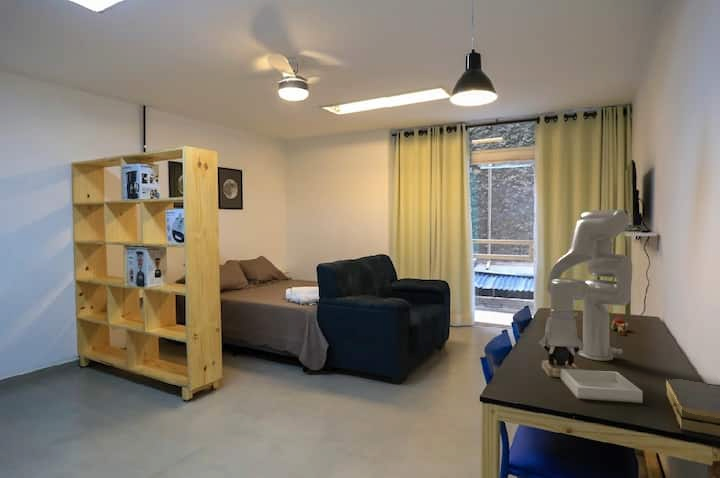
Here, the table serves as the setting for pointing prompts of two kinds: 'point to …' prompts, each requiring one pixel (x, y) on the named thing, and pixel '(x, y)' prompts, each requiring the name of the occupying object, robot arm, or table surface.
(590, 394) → the tray
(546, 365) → the beige flat square frame
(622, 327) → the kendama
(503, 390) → the table surface
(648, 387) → the table surface
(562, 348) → the light bulb
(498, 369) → the table surface
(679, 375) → the table surface
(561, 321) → the robot arm
